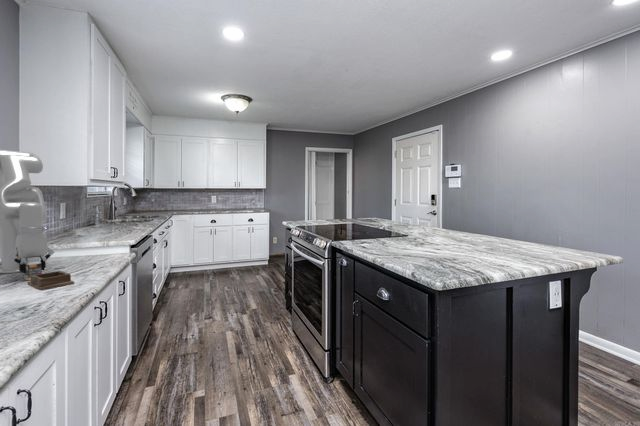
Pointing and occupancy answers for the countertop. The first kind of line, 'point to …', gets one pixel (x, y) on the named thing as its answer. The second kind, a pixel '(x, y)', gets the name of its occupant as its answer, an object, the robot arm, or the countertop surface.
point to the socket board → (50, 280)
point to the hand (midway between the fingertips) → (32, 270)
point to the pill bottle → (32, 267)
